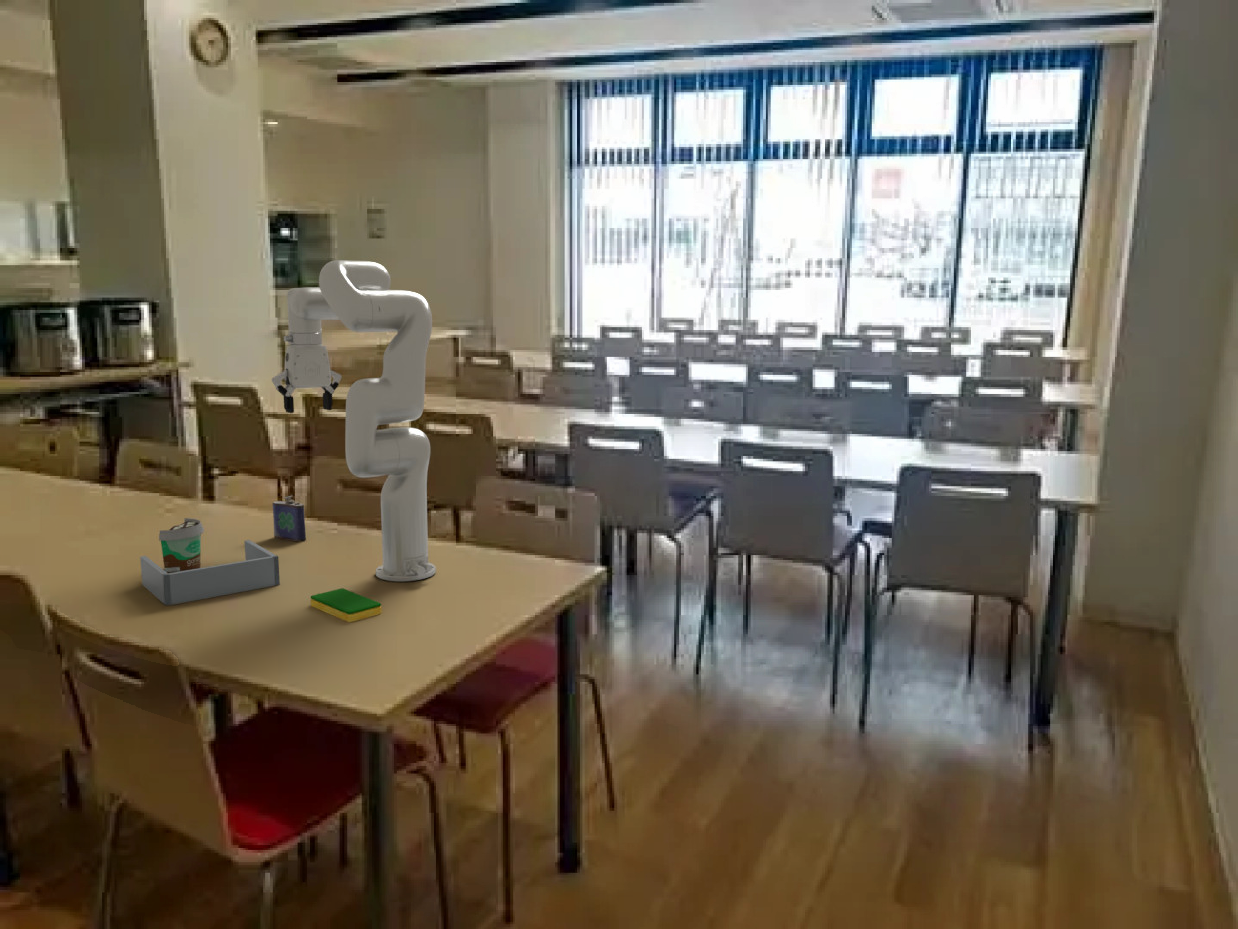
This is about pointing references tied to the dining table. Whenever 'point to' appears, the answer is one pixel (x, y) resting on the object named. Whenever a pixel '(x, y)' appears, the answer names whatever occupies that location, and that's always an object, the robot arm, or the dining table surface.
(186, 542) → the food container
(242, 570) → the grey u-shaped frame
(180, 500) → the dining table surface
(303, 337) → the robot arm
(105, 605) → the dining table surface
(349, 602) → the dish sponge
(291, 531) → the flask
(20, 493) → the dining table surface
